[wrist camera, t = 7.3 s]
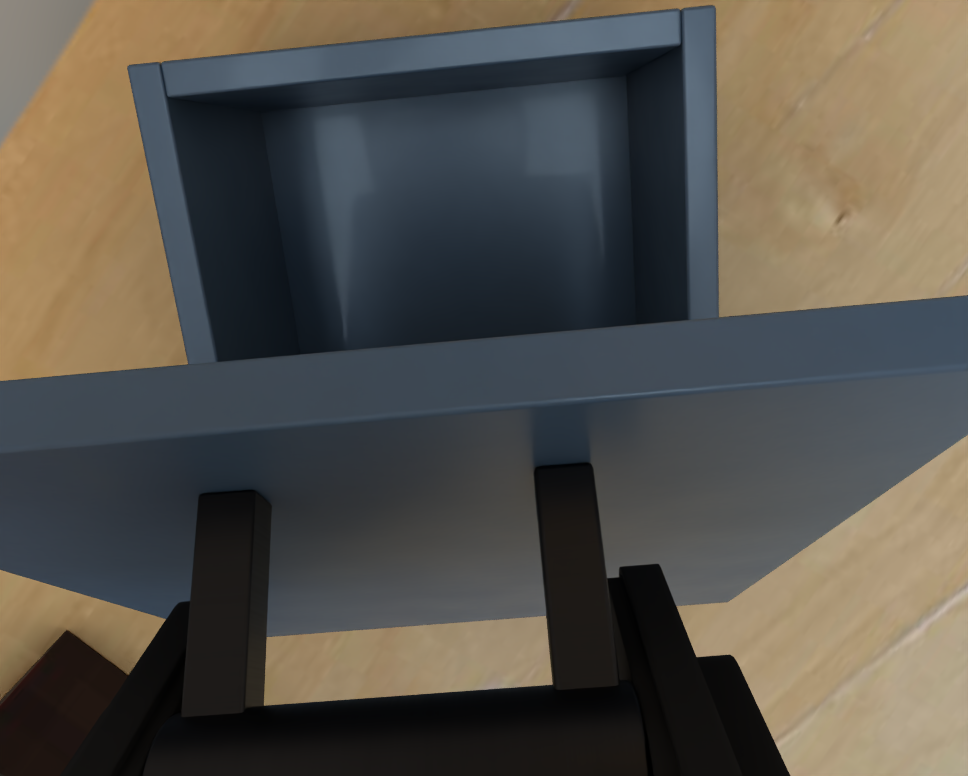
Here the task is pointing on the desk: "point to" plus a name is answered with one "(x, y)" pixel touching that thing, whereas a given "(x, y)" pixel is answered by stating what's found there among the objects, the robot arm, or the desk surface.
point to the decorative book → (54, 708)
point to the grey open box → (438, 185)
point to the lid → (463, 510)
